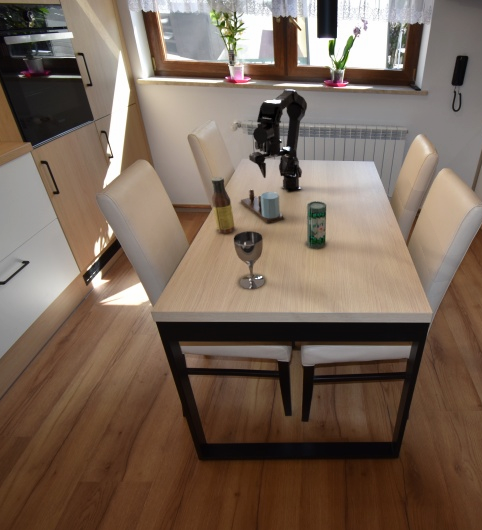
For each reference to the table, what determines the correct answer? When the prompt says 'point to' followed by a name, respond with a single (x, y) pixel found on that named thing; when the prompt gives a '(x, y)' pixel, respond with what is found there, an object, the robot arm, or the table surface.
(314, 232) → the can
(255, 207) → the rack
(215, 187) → the sauce bottle
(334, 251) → the table surface
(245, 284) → the wine glass
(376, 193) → the table surface
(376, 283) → the table surface
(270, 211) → the cup
